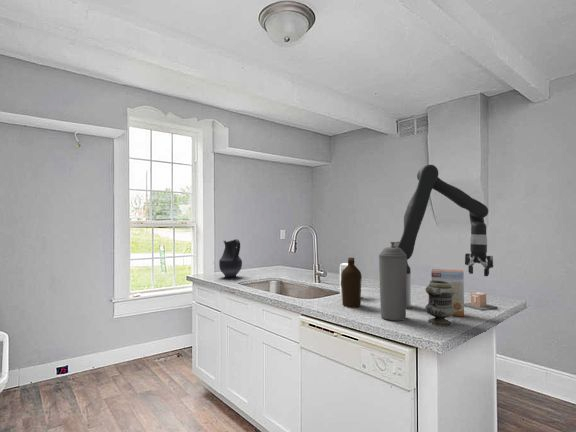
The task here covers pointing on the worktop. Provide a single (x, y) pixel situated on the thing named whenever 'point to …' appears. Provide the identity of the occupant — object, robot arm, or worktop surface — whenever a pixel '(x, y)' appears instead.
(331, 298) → the worktop surface
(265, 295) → the worktop surface
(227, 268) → the pitcher
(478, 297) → the lettered block
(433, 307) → the apothecary jar
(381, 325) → the worktop surface
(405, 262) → the canister
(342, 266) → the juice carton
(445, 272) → the cracker box
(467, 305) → the charcoal mat
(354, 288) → the olive oil
